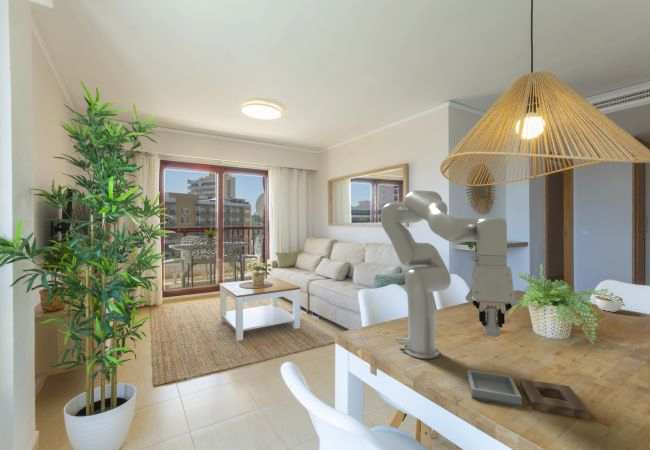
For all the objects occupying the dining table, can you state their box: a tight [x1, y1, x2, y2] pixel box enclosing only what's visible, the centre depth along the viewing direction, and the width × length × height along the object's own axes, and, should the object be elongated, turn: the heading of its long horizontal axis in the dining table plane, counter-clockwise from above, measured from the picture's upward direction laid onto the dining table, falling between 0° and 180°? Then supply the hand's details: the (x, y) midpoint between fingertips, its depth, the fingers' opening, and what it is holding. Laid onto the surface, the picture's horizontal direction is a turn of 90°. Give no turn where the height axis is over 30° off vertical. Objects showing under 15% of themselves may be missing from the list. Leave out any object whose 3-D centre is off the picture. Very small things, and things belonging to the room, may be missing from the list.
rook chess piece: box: [482, 304, 501, 337], centre depth 85 cm, size 4×4×8 cm
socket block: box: [518, 378, 591, 420], centre depth 80 cm, size 12×12×2 cm
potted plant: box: [594, 296, 623, 313], centre depth 162 cm, size 11×11×9 cm
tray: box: [467, 369, 523, 408], centre depth 85 cm, size 12×12×2 cm
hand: (491, 324), depth 85 cm, fingers closed on rook chess piece, 3 cm apart
